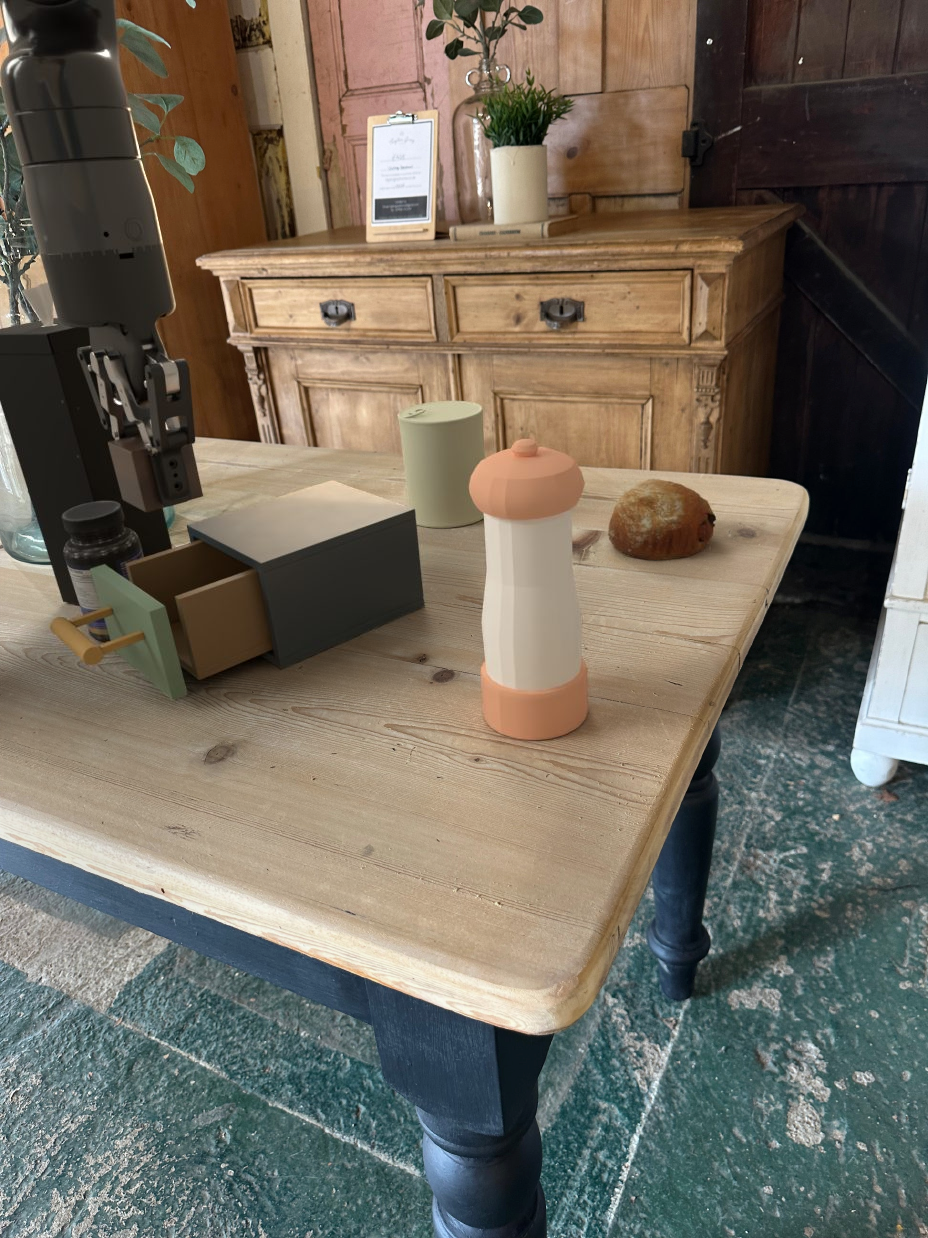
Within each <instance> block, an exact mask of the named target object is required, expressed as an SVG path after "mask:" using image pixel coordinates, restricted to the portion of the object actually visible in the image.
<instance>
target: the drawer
mask: <svg viewBox="0 0 928 1238" xmlns="http://www.w3.org/2000/svg"><path fill="white" fill-rule="evenodd" d="M125 565H126V569H127V573H128V577H129V580H130V582H129V581H128V580H127V579H125V578H124V577H122V576H121V575H119V574H118V573H116V572H115V571H113V570H112V569H111V568H109V567H108V566H106V565H105V564H104V565H101V566H98V567H94V568H91V569H90V571H91V575H92V578H93V582H94V585H95V588H96V592H97V595H98V599H99V602H100V606H101V609H99V610H96V611H93V612H90V613H87V614H85V615H83V614H82V615H79V616H76V617H72V618H71V619H68V618H66V617H64V616H58V617H55V618H53V620H52V621H51V622H50V625H49V629H50V631H51V632H52V633H53V635H54V636H56V637H57V638H58V639H59V640H60V641H61V642H62V643H63V644H64V645H65V646H67V647H68V649H70V650H71V651H72V652H73V653H74V654H75V655H76V656H77V657H78V659H80V660H81V661H82V662H83V663H84V664H86V665H87V666H96V665H98V664H100V663H101V662H102V660H103V659H104V655H106V654H110V653H113V652H115V653H116V654H117V655H119V656H120V657H121V658H122V659H123V660H125V661H126V662H127V663H128V664H129V665H130V666H132V667H133V668H134V669H135V670H136V671H137V672H139V673H140V674H141V675H142V676H143V677H144V678H146V679H147V680H148V681H149V682H150V683H152V685H154V686H155V687H156V688H157V689H158V690H159V691H161V692H162V693H163V694H164V695H165V696H166V697H168V698H169V700H171V701H176V700H178V699H180V698H182V697H185V696H187V695H188V691H187V686H186V683H185V678H184V674H183V671H182V668H183V669H184V670H186V671H187V672H188V673H189V674H190V675H192V676H193V677H194V678H196V679H197V681H202V680H204V679H205V678H209V677H211V676H213V675H215V674H218V673H220V672H222V671H225V670H228V669H230V668H232V667H235V666H236V665H239V664H242V663H243V662H246V661H249V660H251V659H253V658H256V657H258V656H261V654H263V653H265V652H268V651H270V650H272V649H273V645H272V640H271V635H270V630H269V625H268V620H267V615H266V609H265V604H264V599H263V594H262V589H261V584H260V579H259V574H258V570H256V569H255V568H253V567H251V566H249V565H247V564H245V563H243V562H241V561H239V560H238V559H236V558H234V557H232V556H230V555H228V554H226V553H224V552H222V551H221V550H219V549H217V548H215V547H213V546H211V545H209V544H207V543H205V542H204V541H202V540H197V541H194V542H188V543H184V544H182V545H179V546H176V547H172V549H169V550H166V551H163V552H160V553H157V554H153V555H150V556H147V557H144V558H141V559H138V560H135V561H132V562H129V563H126V564H125ZM102 618H104V619H105V623H106V626H107V630H108V633H109V636H110V640H111V641H105V642H104V643H101V644H98V645H97V643H95V642H94V641H93V640H92V639H90V638H89V637H88V636H87V635H86V634H85V633H84V632H83V631H81V630H80V629H79V628H80V627H82V626H83V627H84V626H86V624H88V623H91V622H94V621H97V620H100V619H102Z"/></svg>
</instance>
